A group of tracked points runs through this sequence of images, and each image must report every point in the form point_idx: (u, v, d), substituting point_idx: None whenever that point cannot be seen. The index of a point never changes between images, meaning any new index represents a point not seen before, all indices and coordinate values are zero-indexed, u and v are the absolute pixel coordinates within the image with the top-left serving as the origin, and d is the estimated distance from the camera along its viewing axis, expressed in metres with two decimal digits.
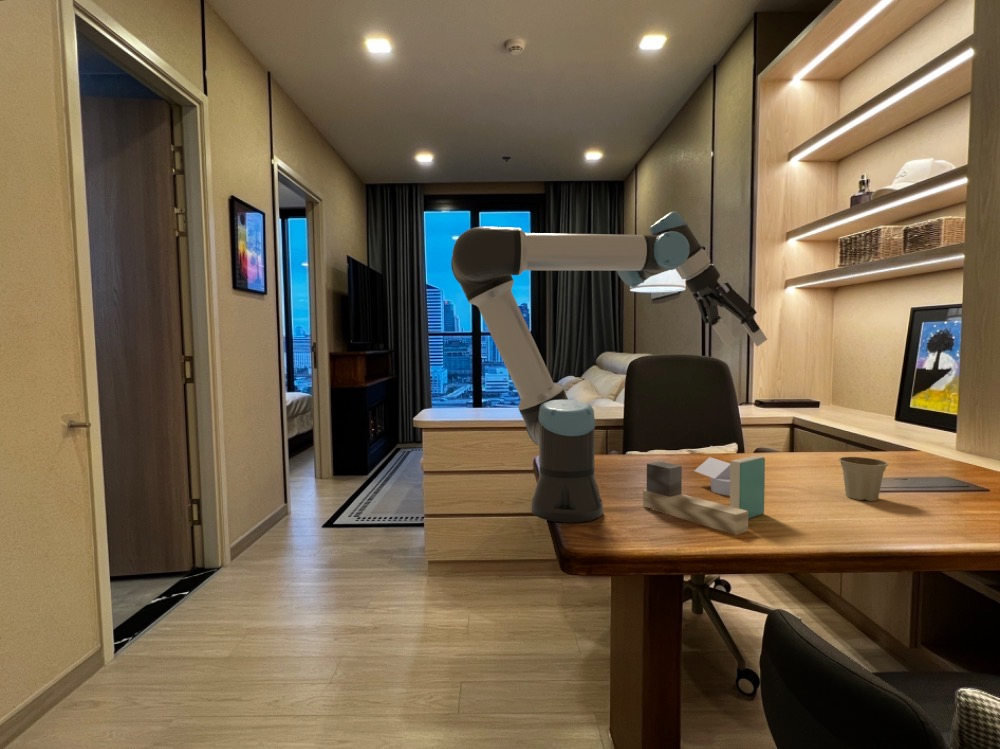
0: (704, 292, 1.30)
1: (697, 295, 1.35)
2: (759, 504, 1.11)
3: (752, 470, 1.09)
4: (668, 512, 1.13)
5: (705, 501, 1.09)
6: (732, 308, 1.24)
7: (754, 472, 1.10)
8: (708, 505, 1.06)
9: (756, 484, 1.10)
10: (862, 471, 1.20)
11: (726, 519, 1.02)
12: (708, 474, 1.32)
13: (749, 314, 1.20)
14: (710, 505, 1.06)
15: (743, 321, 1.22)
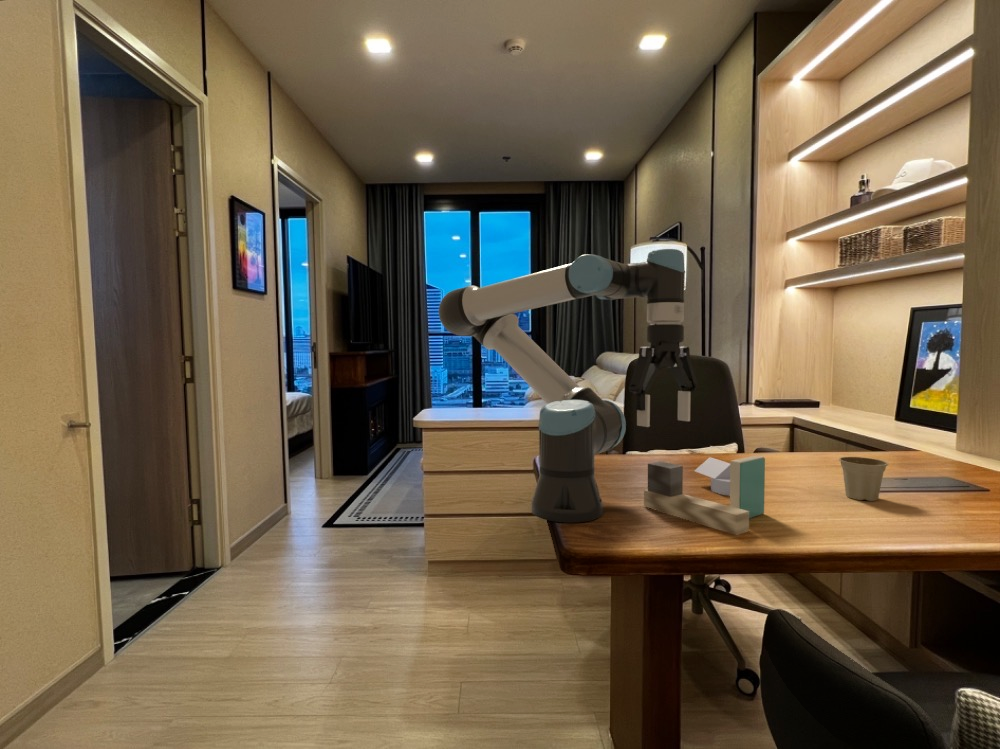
0: None
1: None
2: (759, 504, 1.11)
3: (752, 470, 1.09)
4: (669, 512, 1.12)
5: (706, 501, 1.09)
6: None
7: (754, 472, 1.10)
8: (709, 505, 1.06)
9: (756, 484, 1.10)
10: (862, 471, 1.20)
11: (726, 519, 1.02)
12: (708, 474, 1.32)
13: (631, 387, 1.09)
14: (711, 505, 1.06)
15: (632, 391, 1.11)
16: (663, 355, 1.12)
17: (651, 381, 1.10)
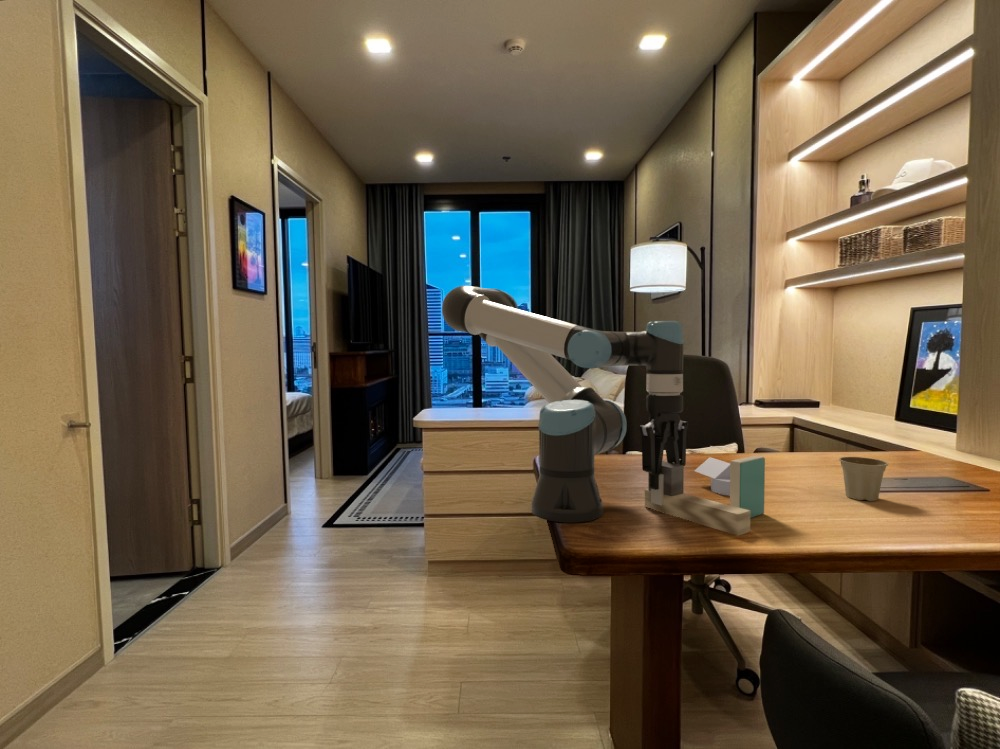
0: None
1: None
2: (759, 504, 1.11)
3: (752, 470, 1.09)
4: (670, 512, 1.12)
5: (707, 501, 1.08)
6: None
7: (754, 472, 1.10)
8: (710, 504, 1.06)
9: (756, 484, 1.10)
10: (862, 471, 1.20)
11: (728, 518, 1.01)
12: (708, 474, 1.32)
13: (645, 469, 1.13)
14: (712, 504, 1.06)
15: None
16: (663, 428, 1.13)
17: (661, 458, 1.13)
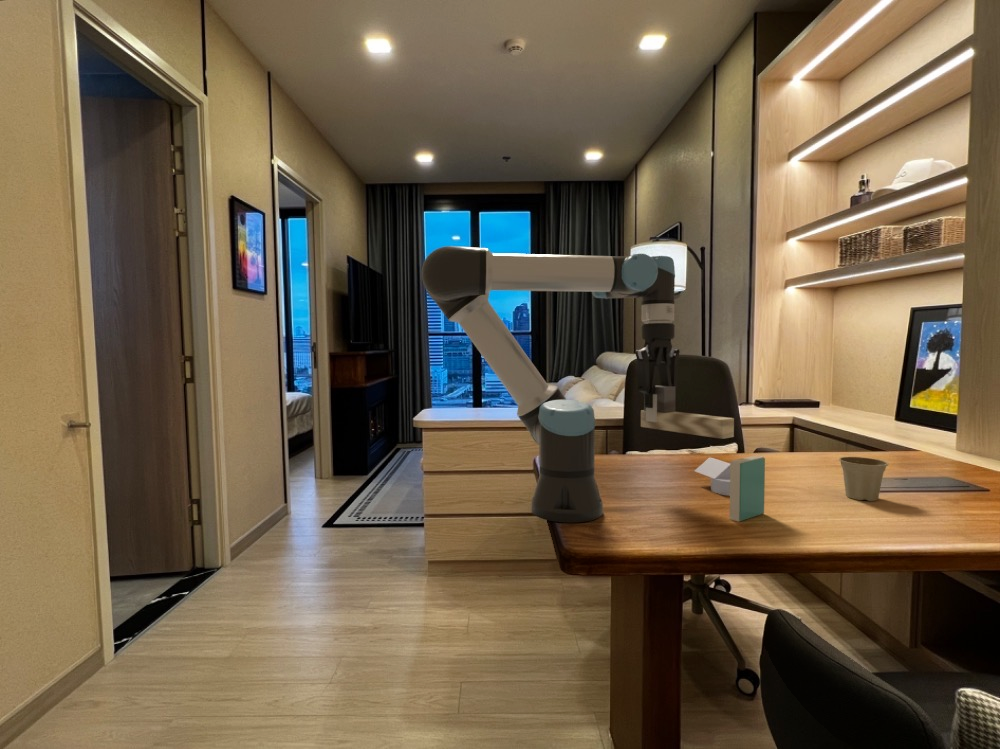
0: None
1: None
2: (759, 504, 1.11)
3: (752, 470, 1.09)
4: (663, 427, 1.25)
5: (696, 414, 1.21)
6: None
7: (754, 472, 1.10)
8: (698, 416, 1.19)
9: (756, 484, 1.10)
10: (862, 471, 1.20)
11: (714, 425, 1.14)
12: (708, 474, 1.32)
13: (640, 389, 1.26)
14: (700, 416, 1.19)
15: (642, 392, 1.28)
16: (657, 352, 1.26)
17: (654, 380, 1.26)
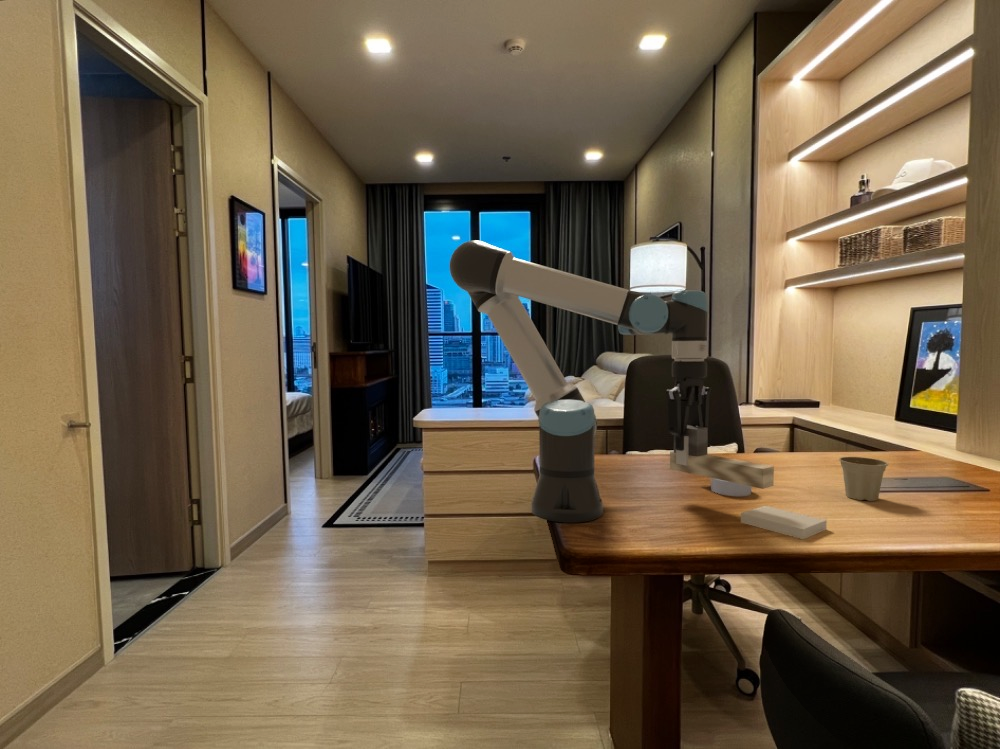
0: None
1: None
2: None
3: None
4: (695, 471, 1.19)
5: (731, 459, 1.15)
6: None
7: None
8: (735, 462, 1.12)
9: None
10: (862, 471, 1.20)
11: (753, 473, 1.08)
12: None
13: (671, 431, 1.19)
14: (736, 462, 1.12)
15: (672, 433, 1.21)
16: (688, 392, 1.19)
17: (686, 421, 1.19)
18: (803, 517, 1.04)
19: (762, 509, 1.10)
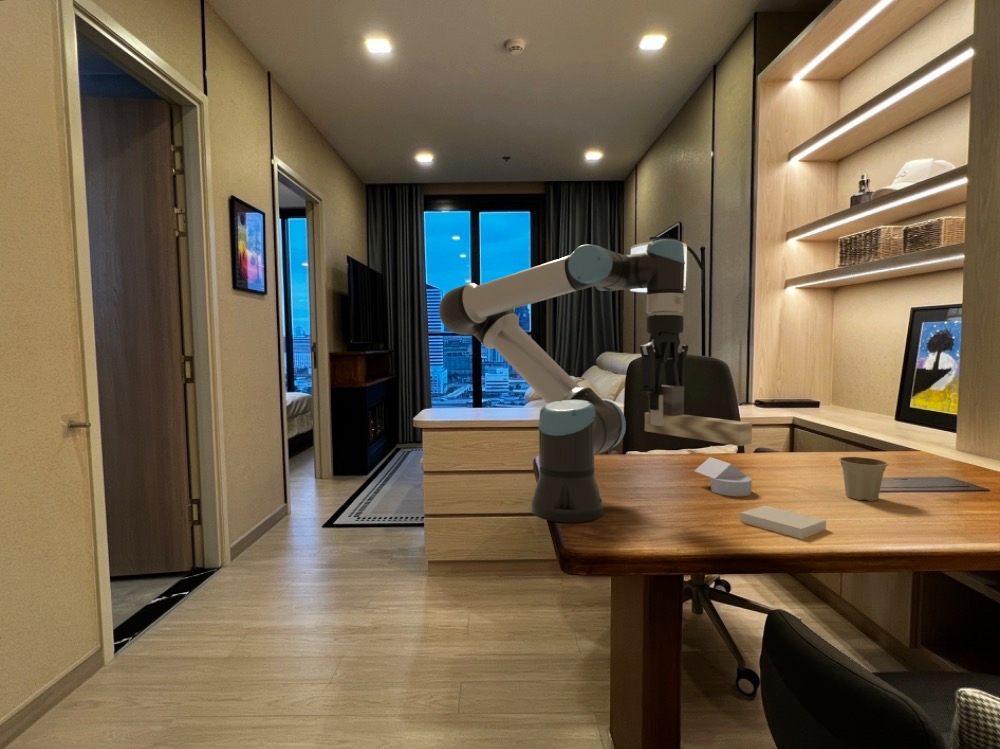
0: None
1: None
2: None
3: None
4: (670, 431, 1.12)
5: (708, 418, 1.08)
6: None
7: None
8: (711, 419, 1.05)
9: None
10: (862, 471, 1.20)
11: (729, 430, 1.01)
12: (708, 474, 1.32)
13: (645, 389, 1.12)
14: (713, 420, 1.05)
15: (646, 392, 1.14)
16: (663, 348, 1.12)
17: (661, 378, 1.12)
18: (803, 517, 1.04)
19: (762, 509, 1.10)
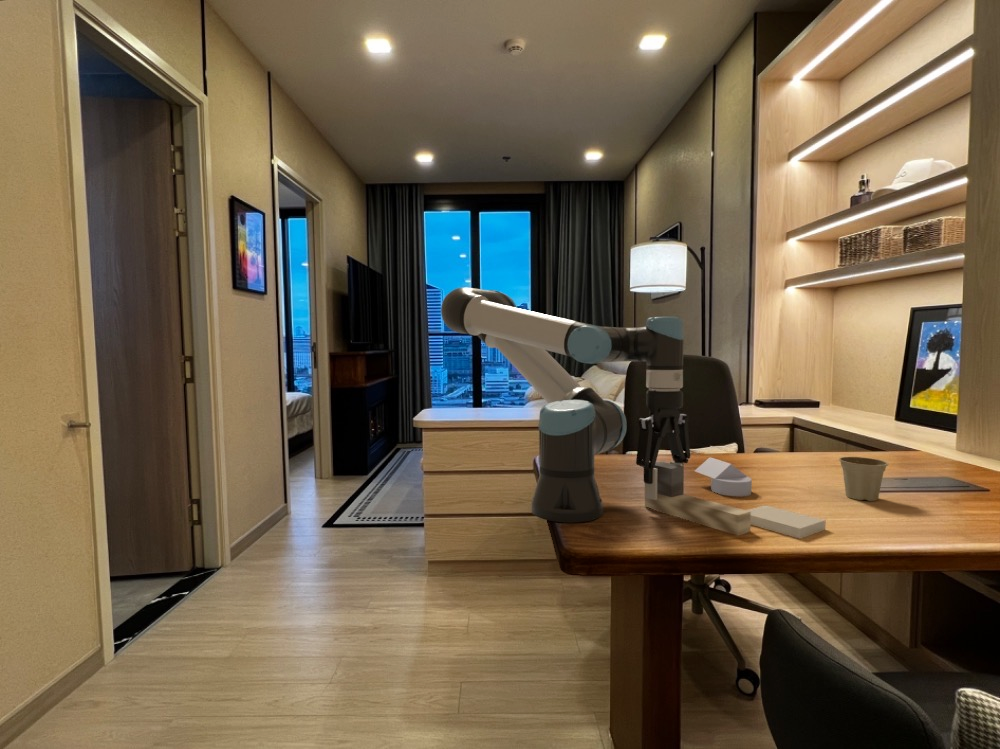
0: None
1: None
2: None
3: None
4: (670, 512, 1.12)
5: (707, 501, 1.08)
6: None
7: None
8: (710, 505, 1.06)
9: None
10: (862, 471, 1.20)
11: (728, 519, 1.01)
12: (708, 474, 1.32)
13: (639, 462, 1.12)
14: (712, 505, 1.06)
15: None
16: (663, 423, 1.13)
17: (656, 453, 1.12)
18: (802, 517, 1.04)
19: (762, 508, 1.10)
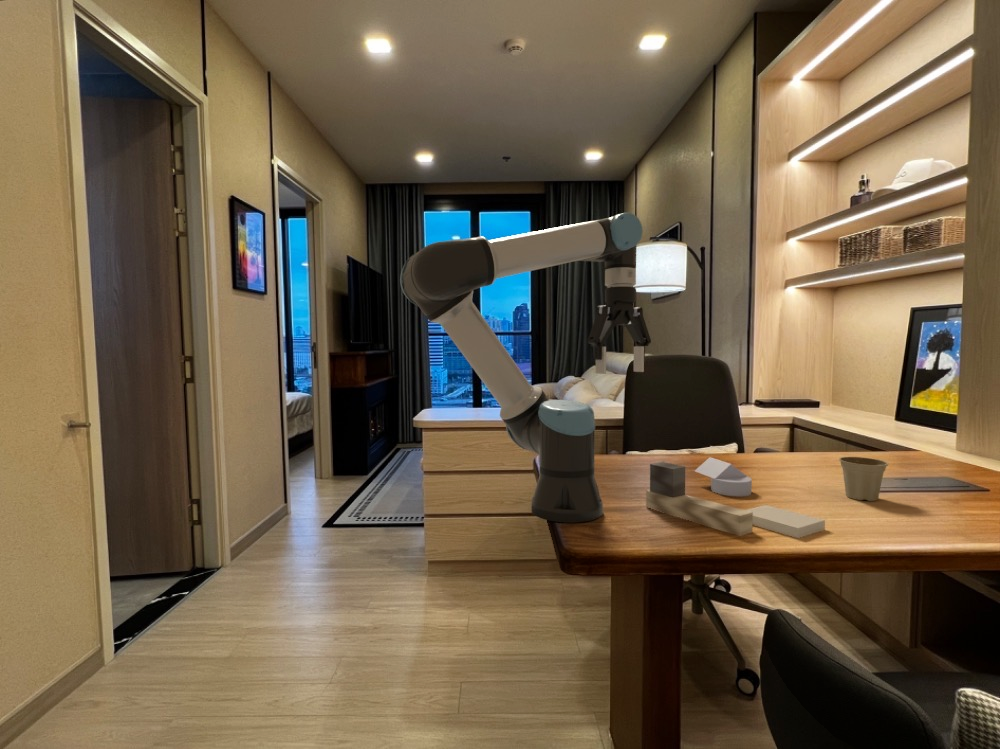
0: None
1: None
2: None
3: None
4: (672, 513, 1.12)
5: (709, 502, 1.08)
6: (601, 330, 1.31)
7: None
8: (712, 506, 1.06)
9: None
10: (862, 471, 1.20)
11: (730, 520, 1.01)
12: (708, 474, 1.32)
13: (589, 340, 1.28)
14: (714, 506, 1.05)
15: (591, 344, 1.30)
16: (618, 313, 1.31)
17: (607, 335, 1.29)
18: (801, 517, 1.05)
19: (762, 508, 1.10)
